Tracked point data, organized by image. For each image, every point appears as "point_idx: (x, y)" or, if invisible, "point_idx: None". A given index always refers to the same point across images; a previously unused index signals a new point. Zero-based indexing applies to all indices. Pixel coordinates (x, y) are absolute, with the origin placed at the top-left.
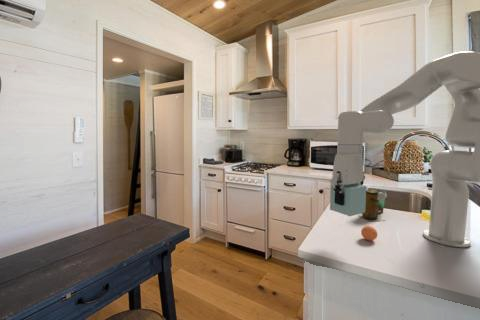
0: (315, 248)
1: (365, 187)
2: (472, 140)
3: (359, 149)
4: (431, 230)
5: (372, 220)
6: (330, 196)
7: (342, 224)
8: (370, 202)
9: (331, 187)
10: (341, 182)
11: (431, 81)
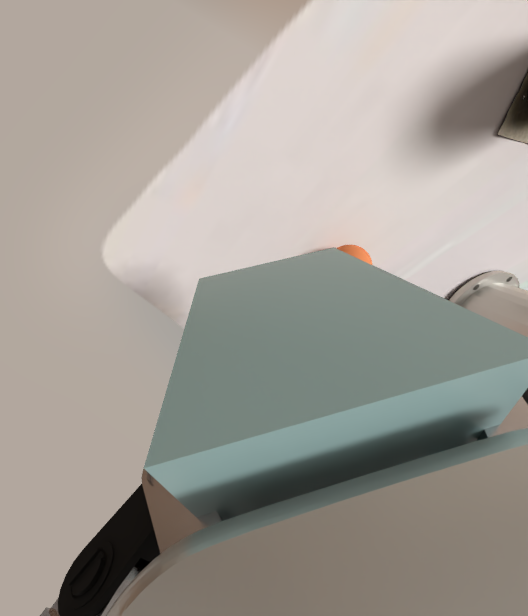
0: (143, 261)
1: None
2: None
3: None
4: (478, 306)
5: (514, 123)
6: (186, 327)
7: (384, 99)
8: None
9: (167, 421)
10: (348, 492)
11: None
